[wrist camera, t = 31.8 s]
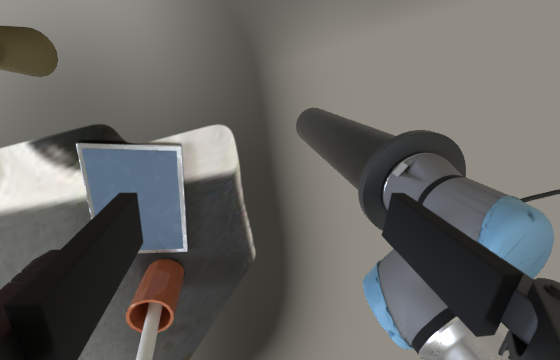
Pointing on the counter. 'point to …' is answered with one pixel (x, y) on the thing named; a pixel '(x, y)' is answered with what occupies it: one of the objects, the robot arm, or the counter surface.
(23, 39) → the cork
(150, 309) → the stylus
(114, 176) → the tablet
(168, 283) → the pen pot
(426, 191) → the robot arm
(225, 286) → the counter surface
